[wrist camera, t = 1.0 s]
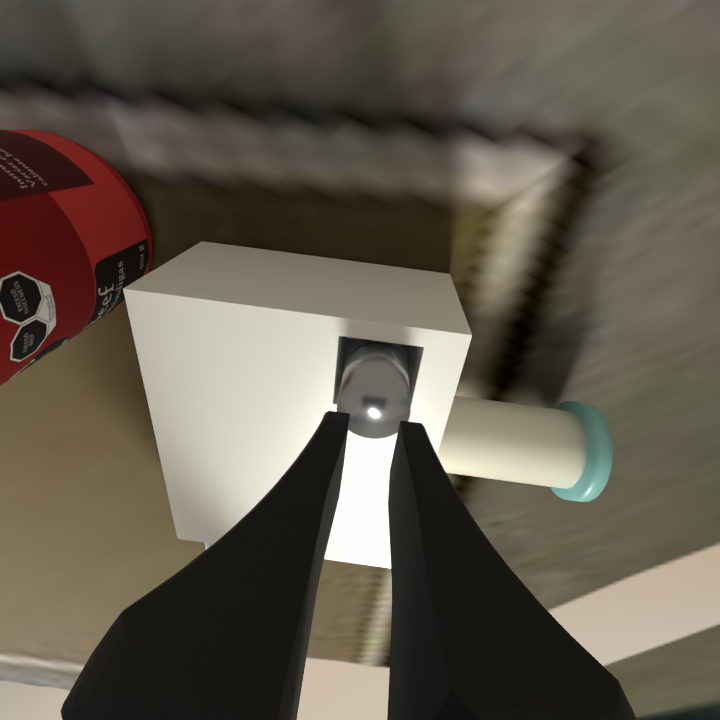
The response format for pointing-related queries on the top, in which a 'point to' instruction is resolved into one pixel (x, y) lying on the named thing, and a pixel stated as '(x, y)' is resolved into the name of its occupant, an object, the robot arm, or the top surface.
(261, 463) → the housing
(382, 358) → the plunger
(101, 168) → the canned food
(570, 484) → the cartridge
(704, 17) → the top surface
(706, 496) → the top surface
